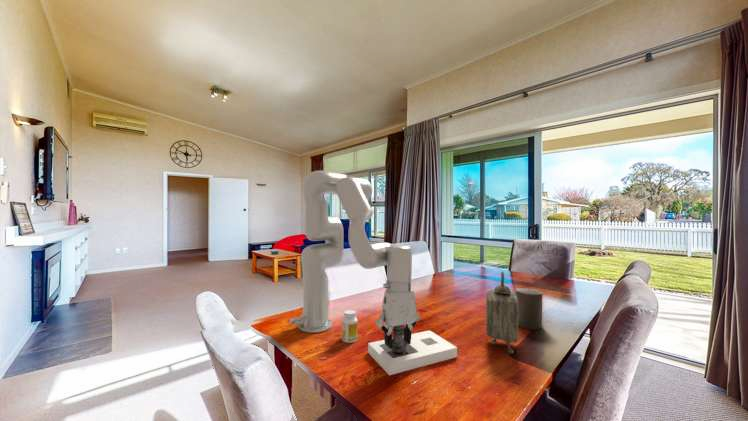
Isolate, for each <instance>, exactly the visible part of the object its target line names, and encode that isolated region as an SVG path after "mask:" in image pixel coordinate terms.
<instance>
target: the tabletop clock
mask: <svg viewBox="0 0 748 421" xmlns="http://www.w3.org/2000/svg"><path fill="white" fill-rule="evenodd" d="M500 275H501V276H500V278H501V280H500V284H498V285H496V287H495V288H494V289H491V290H488V291H486V295H485V296H486V297H485V298H486V301H485V303H486V304H485V305H486V306H485V309H486V310H485V311H486V312H485V331H486V332H485V335H487V336H488V337H490V338H491V339H492V340H491V344H492V345H493V346H495V345H497V344H498V342H497V340H500V341H504V342H505V345H506V346H507V348H508V350H507V352H508V354H509V355H513V354H514V350H513V349H512V348H511V346H510V342H513V343H518V339H519V336H518V335H519V334H518V333H519V326H518V300H517V296H516V294H515V292H516V291H515V292H514V291H511V289H510V287H508V286H507V285H505V273H504V271H501V273H500Z"/></svg>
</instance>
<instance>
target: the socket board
mask: <svg viewBox="0 0 748 421" xmlns="http://www.w3.org/2000/svg"><path fill="white" fill-rule="evenodd" d="M392 339H393V337H392ZM367 346H368V347H367V352H368V354H369V355H370V357H371V358H373V360H374V361H375V362H376V363H377V364H378V365H379V366H380V367H381V368H382V369H383V370H384V372H386V374H387V375H388V376H393V375H397V374H400V373H403V372H407V371H411V370H414V369H419V368H422V367H426V366H428V365H433V364H437V363H439V362H444V361H449V360H451V359H455V358H458V347H457V346H455V344H453V343H451V342H450V341H447V340H446V339H444V338H443V337H441V336H440V335H438V334H436V333H435V332H433V331H431V330H425V331H420V332H414V333H411V344H407V347H406V349H405V350H404V351H405V352H406V353H408V354H406V355H405V356H401V357H397V358H394V357H392V356H390V354H389V352H390V351H391V350H392V349H391V348H389V347H388V346H387V345H386V344H385V339H381V340H376V341H371V342H368V343H367Z"/></svg>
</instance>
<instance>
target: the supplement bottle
mask: <svg viewBox="0 0 748 421" xmlns="http://www.w3.org/2000/svg"><path fill="white" fill-rule="evenodd" d="M343 313H344V315H343V316H344V317H343V318H342V320H341V324H342V325H341V340H342V342H344V343H348V344H349V343H350V344H351V343H355V342H357V341H358V336H359V335H358V334H359V333H358V331H359V330H358V327H359V325H358V323H359V320H358V318H357V317H356V315H357V312H356V310H352V309H348V310H345V311H344V312H343Z"/></svg>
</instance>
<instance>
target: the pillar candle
mask: <svg viewBox="0 0 748 421" xmlns="http://www.w3.org/2000/svg"><path fill="white" fill-rule="evenodd" d="M515 294H516V296H517V300H518V327H520V328H523V329H527V330H534V331H537V330H541V329H542V328H543V325H542V324H543V292H542V291H541V290H537V289H533V288H529V287H527V288H525V287H520V288H519V287H517V288H515Z"/></svg>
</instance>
